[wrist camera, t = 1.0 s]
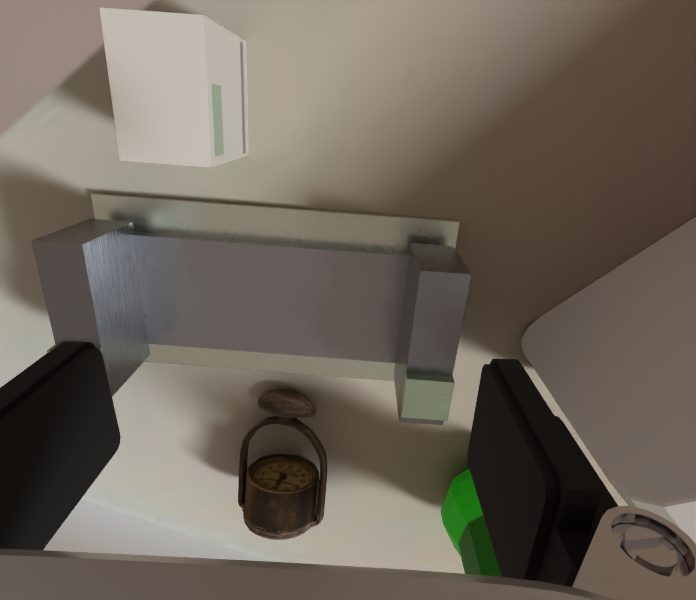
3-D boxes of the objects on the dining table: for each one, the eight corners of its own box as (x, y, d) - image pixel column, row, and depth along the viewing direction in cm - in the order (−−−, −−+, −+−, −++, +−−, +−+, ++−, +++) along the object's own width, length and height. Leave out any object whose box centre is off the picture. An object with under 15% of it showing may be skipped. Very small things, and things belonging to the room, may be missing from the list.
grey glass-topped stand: (95, 192, 32) (6, 217, 24) (458, 220, 32) (488, 254, 24) (121, 355, 38) (56, 419, 30) (430, 380, 37) (448, 451, 29)
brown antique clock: (193, 518, 38) (292, 578, 37) (233, 421, 32) (351, 490, 31) (234, 460, 44) (320, 510, 43) (274, 370, 38) (373, 427, 38)
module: (168, 35, 28) (98, 7, 21) (246, 41, 28) (203, 15, 21) (178, 149, 31) (119, 160, 23) (248, 154, 31) (212, 167, 23)
